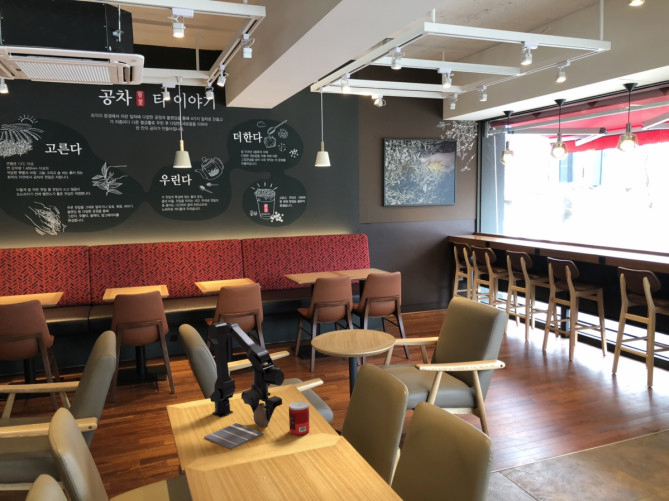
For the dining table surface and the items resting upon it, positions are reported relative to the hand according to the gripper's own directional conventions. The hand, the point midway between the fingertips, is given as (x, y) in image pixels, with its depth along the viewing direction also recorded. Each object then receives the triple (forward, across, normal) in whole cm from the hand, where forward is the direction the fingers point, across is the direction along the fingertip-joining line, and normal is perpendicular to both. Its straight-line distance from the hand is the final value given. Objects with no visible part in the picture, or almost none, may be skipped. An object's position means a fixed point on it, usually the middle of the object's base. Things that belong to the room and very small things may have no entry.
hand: (262, 418), depth 214 cm
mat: (+2, -1, -14) cm, 14 cm away
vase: (+3, 0, 0) cm, 3 cm away
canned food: (+3, +17, +4) cm, 18 cm away
